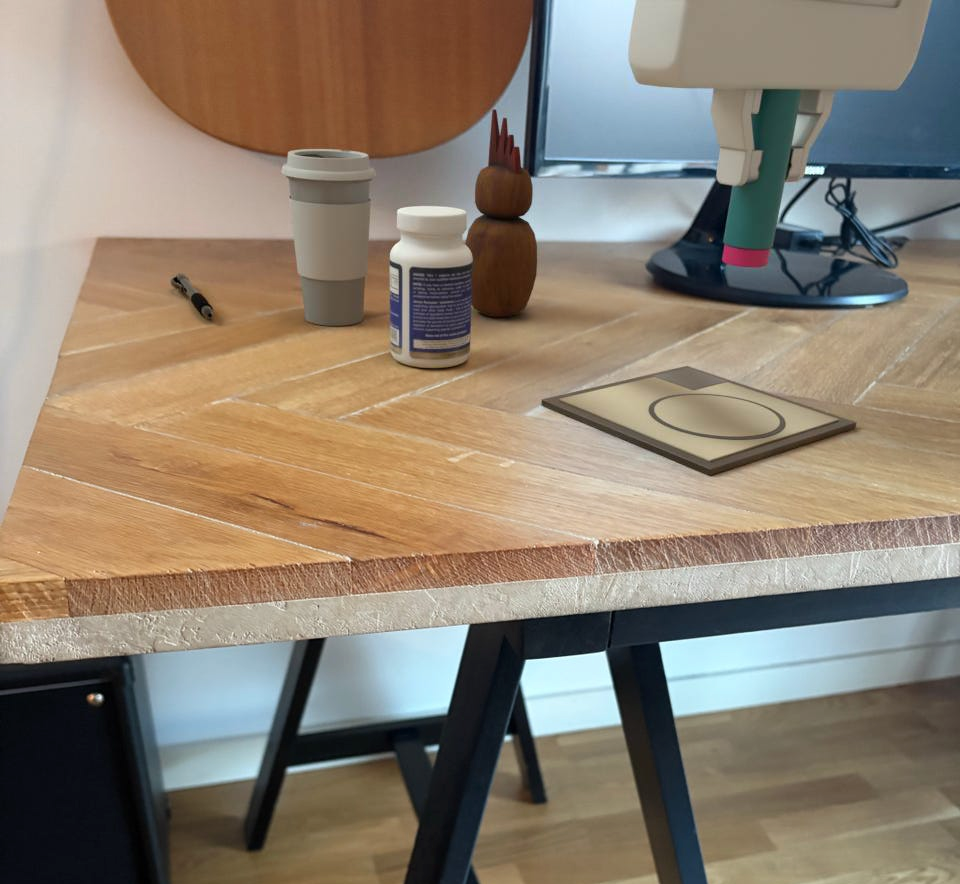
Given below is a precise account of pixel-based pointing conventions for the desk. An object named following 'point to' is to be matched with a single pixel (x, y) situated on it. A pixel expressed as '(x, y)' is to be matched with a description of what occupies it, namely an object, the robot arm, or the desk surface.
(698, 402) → the board
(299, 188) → the cup
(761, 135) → the dot marker
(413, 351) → the pill bottle
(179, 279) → the pen
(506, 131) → the wooden figurine
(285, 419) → the desk surface
